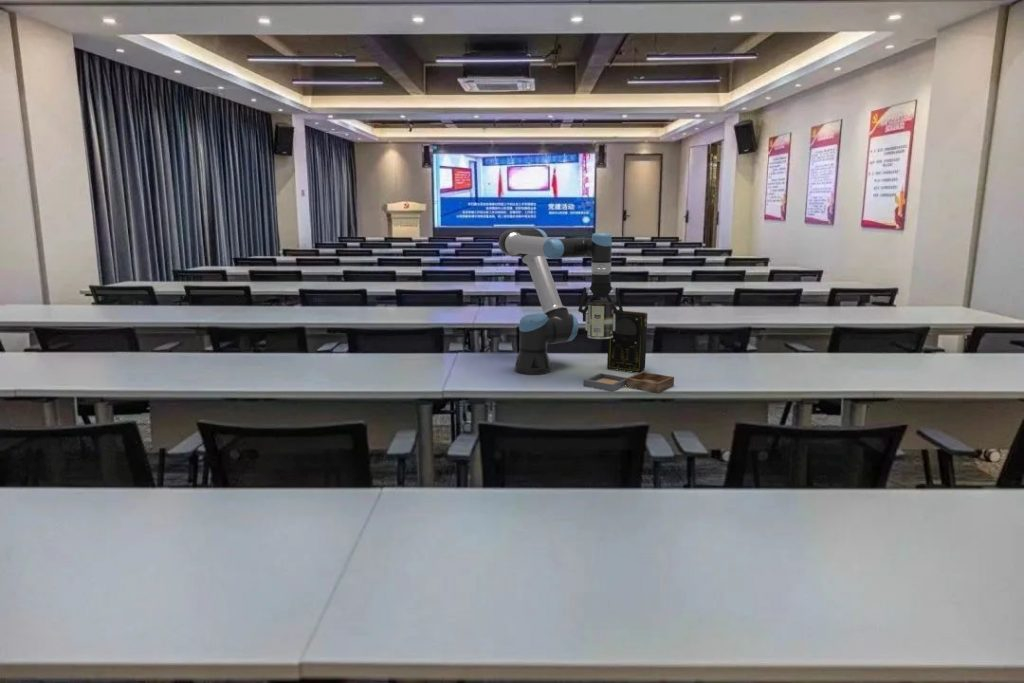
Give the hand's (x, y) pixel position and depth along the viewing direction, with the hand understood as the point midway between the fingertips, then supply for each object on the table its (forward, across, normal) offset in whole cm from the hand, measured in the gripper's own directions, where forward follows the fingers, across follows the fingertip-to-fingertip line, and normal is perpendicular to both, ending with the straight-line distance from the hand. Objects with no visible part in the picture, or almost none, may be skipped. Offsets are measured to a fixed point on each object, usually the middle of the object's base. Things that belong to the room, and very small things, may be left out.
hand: (600, 330), depth 270 cm
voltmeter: (+20, +11, +19) cm, 30 cm away
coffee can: (+3, 0, 0) cm, 3 cm away
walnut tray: (+21, +19, -7) cm, 29 cm away
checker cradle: (+20, +3, -7) cm, 22 cm away
